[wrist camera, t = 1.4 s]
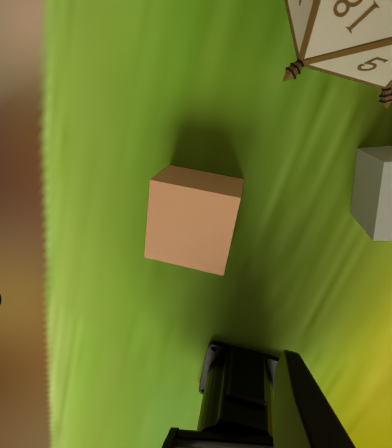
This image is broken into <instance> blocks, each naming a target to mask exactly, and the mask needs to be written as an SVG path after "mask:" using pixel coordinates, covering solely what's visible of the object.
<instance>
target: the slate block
mask: <svg viewBox="0 0 392 448" xmlns="http://www.w3.org/2000/svg"><path fill="white" fill-rule="evenodd" d="M350 213H351V214H352V215H353V217H354V218H355V219H356V220H357V222H358V223H359V224H360V225H361V227H362V228H363V229H364V230H365V231H366V233H367V234H368V235H369V236H370V238H371V239H372V240H373V241H392V145H390V146H378V147H366V148H357V151H356V161H355V172H354V182H353V192H352V202H351V212H350Z"/></svg>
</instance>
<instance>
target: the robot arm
mask: <svg viewBox="0 0 392 448" xmlns="http://www.w3.org/2000/svg"><path fill="white" fill-rule="evenodd" d="M0 304H1V295H0ZM214 347H215V348H214ZM199 392H200V393H201V394H203V399H202V405H201V410H200V416H199V421H198V427H197V431H195V430H181V429H179V428H174V427H171V429H170V431H169V433H168V435H167V438H166V439H165V441H164V443H163V446H162V448H356V447H355V446H354V444H353V442H352V441H351V439H350V437H349V436H348V434H347V432H346V431H345V429H344V427H343V426H342V424H341V422H340V421H339V419H338V417H337V416H336V414H335V412H334V411H333V409H332V408H331V406H330V404H329V403H328V401H327V399H326V398H325V396H324V394H323V393H322V391H321V389H320V388H319V386H318V384H317V383H316V381H315V379H314V378H313V376H312V374H311V373H310V371H309V369H308V368H307V366H306V364H305V363H304V361H303V359H302V358H301V356H300V355H299V354H298V353H296V352H293V351H288V350H284V351H283V352H282V354H281V356H280V358H278V357H274V356H270V355H266V354H262V353H258V352H255V351H251V350H247V349H243V348H239V347H235V346H232V345H228V344H224V343H220V342H216V341H211V342H210V343H209V346H208V350H207V355H206V359H205V364H204V368H203V372H202V377H201V381H200V386H199Z"/></svg>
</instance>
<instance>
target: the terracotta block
mask: <svg viewBox="0 0 392 448" xmlns="http://www.w3.org/2000/svg"><path fill="white" fill-rule="evenodd" d="M243 182H244V179H241V178H235V177H230V176H225V175H220V174H215V173H209V172H204V171H199V170H194V169H189V168H183V167H178V166H173V165H169V166H168V167H166V168H165V169H164V170H162V171H161V172H160V173H158V174H157V175H156V176H154V177H153V178H152V179H150V187H149V200H148V214H147V227H146V240H145V253H144V257H145V258H149V259H154V260H158V261H162V262H166V263H171V264H175V265H179V266H183V267H188V268H192V269H196V270H200V271H205V272H209V273H213V274H217V275H222V276H224V271H225V267H226V262H227V258H228V253H229V249H230V244H231V240H232V235H233V231H234V227H235V222H236V218H237V213H238V209H239V204H240V200H241V194H242V188H243Z"/></svg>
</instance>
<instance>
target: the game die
mask: <svg viewBox="0 0 392 448" xmlns="http://www.w3.org/2000/svg"><path fill="white" fill-rule="evenodd" d="M285 5H286V9H287V14H288V18H289V23H290V28H291V32H292V37H293V41H294V46H295V51H296V55H297V61H296V62H294V63H291V64H290V66H289V67H288V68H287V67H286V73H285V76H284V79H283V81H286V80H290V79H296V76H297V75H298V74H300V73H301V72H300V71H301V69H302V67H303V66H304V67H307V68H311V69H314V70H318V71H321V72H325V73H328V74H332V75H336V76H339V77H343V78H346V79H350V80H353V81H357V82H360V83H364V84H367V85H371V86H374V87H378V88H382V93H381V95H379V97H380V101H379V102H381V103H382V104H383V105H384V107H385V108H386V109H387V108H388V107H389V105H390V104H391V102H392V90H391V87H392V0H285Z"/></svg>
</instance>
